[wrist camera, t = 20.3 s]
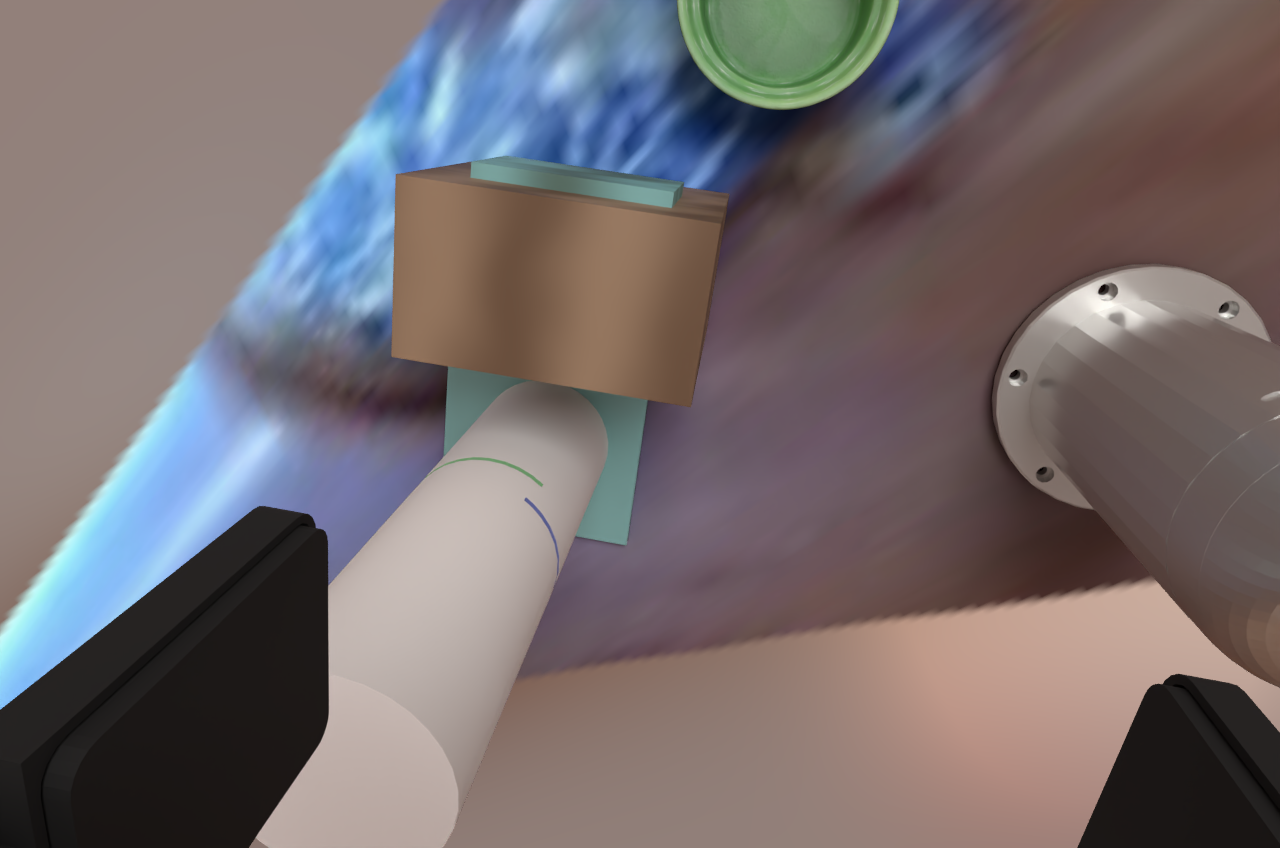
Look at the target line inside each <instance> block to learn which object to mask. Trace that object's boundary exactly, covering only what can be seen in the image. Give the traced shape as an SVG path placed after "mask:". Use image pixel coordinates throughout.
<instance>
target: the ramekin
mask: <svg viewBox="0 0 1280 848" xmlns="http://www.w3.org/2000/svg"><path fill="white" fill-rule="evenodd" d="M898 4H899V0H677V9H678V17H679V23H680V27H681V31H682V35H683V38H684V41H685V43H686V46H687V48H688V51H689V52H690V54H691V56H692V58H693V60H694V62H695V63H696V65H697V66H698V68H699V69H700V70H701V71H702V73H703V74H704V75H705V76H706V77H707V78H708V79H709V80H710V81H711V82H712V83H713V84H714V85H715V86H716V87H717V88H719V89H720V90H721V91H723V92H724V93H726V94H727V95H729V96H731V97H732V98H734V99H736V100H738V101H741V102H743V103H746V104H749V105H752V106H756V107H760V108H766V109H775V110H788V109H797V108H802V107H807V106H811V105H814V104H817V103H820V102H822V101H824V100H827V99H829V98H831V97H833V96H835V95H836V94H838V93H839V92H841V91H843V90H844V89H845V88H847V87H848V86H849V85H851V84H852V83H853V82H854V81H855V80H857V79H858V78H859V77H860V76H861V75H862V74H863V73H864V72H865V70H866V69H867V68H868V67H869V66H870V65H871V63H872V62H873V61H874V59H875V58H876V57H877V55H878V54H879V52H880V51H881V49H882V47H883V45H884V43H885V42H886V40H887V37H888V35H889V33H890V31H891V28H892V25H893V23H894V20H895V17H896V13H897V9H898Z"/></svg>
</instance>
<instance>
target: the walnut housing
mask: <svg viewBox="0 0 1280 848" xmlns="http://www.w3.org/2000/svg"><path fill="white" fill-rule="evenodd" d="M683 186H684V182H679V181H672V180H665V179H659V178H652V177H645V176H639V175H632V174H625V173H619V172H612V171H605V170H598V169H592V168H585V167H578V166H572V165H565V164H558V163H552V162H545V161H538V160H531V159H525V158H518V157H511V156H503V157H497V158H491V159H485V160H479V161H473V162H467V163H461V164H455V165H449V166H443V167H437V168H431V169H425V170H419V171H413V172H407V173H401V174H396V188H395V230H394V273H393V315H392V357H396V358H402V359H408V360H414V361H420V362H425V363H431V364H437V365H443V366H449V367H455V368H461V369H467V370H473V371H479V372H485V373H491V374H497V375H503V376H509V377H515V378H521V379H526V380H532V381H538V382H544V383H550V384H556V385H562V386H568V387H574V388H580V389H586V390H592V391H598V392H604V393H610V394H616V395H622V396H627V397H633V398H639V399H645V400H651V401H657V402H663V403H669V404H675V405H681V406H687V407H691V404H692V399H693V394H694V389H695V384H696V379H697V374H698V370H699V365H700V360H701V355H702V350H703V345H704V341H705V336H706V331H707V325H708V319H709V313H710V307H711V301H712V295H713V289H714V283H715V277H716V271H717V265H718V259H719V253H720V247H721V241H722V235H723V229H724V223H725V217H726V211H727V205H728V199H729V194H727V193H720V192H713V191H706V190H700V189H693V188H686V187H683Z"/></svg>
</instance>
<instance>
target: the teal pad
mask: <svg viewBox="0 0 1280 848" xmlns="http://www.w3.org/2000/svg"><path fill="white" fill-rule="evenodd" d="M526 381H532V380H526V379H521V378H515V377H509V376H503V375H497V374H491V373H485V372H479V371H473V370H467V369H461V368H455V367H449V366H448V380H447V400H446V420H445V440H444V456H445V455H446V454H447V453H448V452H449V450H450V449H451V448H452V447H453V446H454V445H455V444H456V443H457V441H458V440H459V439H460V438H461V437H462V436H463V435H464V434H465V432H466V431H467V430H468V429H469V428H470V427H471V426H472V425H473V424H474V422H475V421H476V420H477V419H478V418H479V417H480V416H481V415H482V413H483V412H484V411H485V410H486V409H487V408H488V407H489V406H490V404H491V403H492V402H493V401H494V400H495V399H496V398H497V397H498V396H499V395H500V394H501V393H503V392H504V391H505V390H507V389H509V388H510V387H512V386H514V385H516V384H520V383H523V382H526ZM570 388H572V389H573V390H575V391H577V392H579V393H580V394H581V395H582V396H584V397H585V398H586V399H587V400H588V401H589V402H590V403H591V404H592V405H593V406H594V407H595V409H596V410H597V412H598V413H599V415H600V417H601V418H602V420H603V423H604V426H605V428H606V432H607V438H608V455H607V458H606V462H605V465H604V468H603V470H602V473H601V475H600V478H599V480H598V482H597V485H596V487H595V490H594V492H593V494H592V497H591V499H590V501H589V504H588V506H587V509H586V511H585V513H584V516H583V518H582V521H581V523H580V525H579V528H578V530H577V533H576V535H575V536H578V537H583V538H589V539H594V540H600V541H605V542H611V543H616V544H622V545H627V541H628V535H629V528H630V521H631V514H632V508H633V501H634V494H635V487H636V480H637V473H638V466H639V459H640V452H641V445H642V439H643V432H644V425H645V418H646V411H647V404H648V400H645V399H639V398H633V397H627V396H622V395H616V394H610V393H604V392H598V391H592V390H586V389H580V388H574V387H570Z"/></svg>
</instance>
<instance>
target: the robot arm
mask: <svg viewBox="0 0 1280 848" xmlns="http://www.w3.org/2000/svg"><path fill="white" fill-rule="evenodd" d="M1103 284H1105V285H1106V287H1105V290H1104V291H1103V292H1102V293H1098V290H1099V288H1100V287H1101V285H1103ZM1222 304H1224V307H1223V308H1222V309H1221V310H1220V311H1219V308H1220V307H1221V305H1222ZM1015 370H1018V373H1017V375H1016V376H1014V377H1009V375H1010V374H1011V372H1013V371H1015ZM992 409H993V421H994V424H995V428H996V431H997V435H998V438H999V441H1000V443H1001V445H1002V446H1003V448H1004V450H1005V452H1006V454H1007V455H1008V457H1009V459H1010V460H1011V461H1012V463H1013V464H1014V465H1015V466H1016V468H1017V469H1018V470H1019V472H1020V473H1021V474H1022V475H1023V476H1024V477H1025V478H1026V479H1027V480H1028V481H1029V482H1030V483H1031V484H1032V485H1034V486H1035V487H1036V488H1038V489H1039V490H1041V491H1043V492H1044V493H1046V494H1048V495H1049V496H1051V497H1053V498H1054V499H1056V500H1059V501H1062V502H1065V503H1067V504H1070V505H1073V506H1076V507H1079V508H1085V509H1091V510H1095V511H1096V512H1097V513H1098V514H1099V515H1100V516H1101V518H1102V519H1103V520H1104V521H1105V522H1106V523H1107V524H1108V526H1109V527H1110V528H1111V529H1112V530H1113V531H1114V533H1115V534H1116V535H1117V536H1118V537H1119V538H1120V539H1121V541H1122V542H1123V543H1124V544H1125V545H1126V546H1127V547H1128V549H1129V550H1130V551H1131V552H1132V553H1133V554H1134V556H1135V557H1136V558H1137V559H1138V560H1139V561H1140V562H1141V564H1142V565H1143V566H1144V567H1145V568H1146V569H1147V570H1148V572H1149V573H1150V574H1151V575H1152V576H1153V577H1154V578H1155V580H1156V581H1157V582H1158V583H1159V584H1160V585H1161V587H1162V588H1163V589H1164V590H1165V591H1166V592H1167V593H1168V594H1169V596H1170V597H1171V598H1172V599H1173V600H1174V601H1175V603H1176V604H1177V605H1178V606H1179V607H1180V608H1181V609H1182V611H1183V612H1184V613H1185V614H1186V615H1187V616H1188V617H1189V618H1190V619H1191V620H1192V621H1193V622H1194V623H1195V625H1196V626H1197V627H1198V628H1199V629H1200V630H1201V631H1202V633H1203V634H1204V635H1205V636H1206V637H1207V638H1208V639H1209V640H1210V641H1211V642H1212V643H1213V644H1214V645H1215V646H1216V647H1217V648H1218V649H1219V650H1220V651H1221V652H1222V653H1224V654H1225V655H1226V656H1227V657H1228V658H1230V659H1231V660H1232V661H1234V662H1235V663H1236V664H1238V665H1239V666H1241V667H1242V668H1244V669H1245V670H1247V671H1248V672H1250V673H1251V674H1253V675H1255V676H1256V677H1258V678H1260V679H1262V680H1264V681H1266V682H1268V683H1270V684H1273V685H1275V686H1277V687H1279V688H1280V346H1278V345H1275V344H1273V343H1271V339H1270V337H1269V335H1268V333H1267V330H1266V328H1265V326H1264V324H1263V321H1262V319H1261V318H1260V317H1259V315H1258V314H1257V313H1256V312H1255V310H1254V309H1253V308H1252V306H1251V305H1250V304H1249V303H1248V301H1247V300H1245V299H1244V298H1243V297H1242V296H1240V295H1239V294H1238V293H1237V292H1235V291H1234V290H1233V289H1232V288H1230V287H1229V286H1228V285H1226V284H1224V283H1222V282H1220V281H1218V280H1215V279H1213V278H1211V277H1209V276H1207V275H1205V274H1202V273H1199V272H1196V271H1193V270H1190V269H1187V268H1183V267H1176V266H1170V265H1163V264H1135V265H1126V266H1122V267H1117V268H1112V269H1107V270H1103V271H1100V272H1098V273H1095V274H1093V275H1090V276H1087V277H1085V278H1082V279H1080V280H1077V281H1076V282H1074V283H1072V284H1070V285H1069V286H1067V287H1065V288H1064V289H1062V290H1060V291H1059V292H1057V293H1055V294H1053V295H1052V296H1051V297H1050V298H1049V299H1048V300H1046V301H1045V302H1044V303H1043V304H1042V305H1040V306H1039V307H1038V308H1037V309H1036V310H1034V311H1033V312H1032V313H1031V314H1030V316H1029V317H1028V318H1027V319H1026V320H1025V321H1024V323H1023V324H1022V325H1021V326H1020V327H1019V329H1018V330H1017V331H1016V332H1015V334H1014V336H1013V337H1012V339H1011V341H1010V342H1009V344H1008V346H1007V348H1006V349H1005V351H1004V353H1003V355H1002V358H1001V361H1000V363H999V366H998V369H997V372H996V374H995V380H994V386H993V393H992ZM1042 467H1044V469H1043V470H1042V471H1039V472H1037V471H1038V470H1039V469H1040V468H1042ZM328 717H329V640H328V540H327V535H326V532H325V531H324V530H322V529H317V528H316V526H315V522H314V520H313V518H312V517H311V516H310V515H309V514H304V513H299V512H294V511H288V510H283V509H277V508H272V507H266V506H259V507H257V508H255V509H253V510H252V511H251V512H249V513H248V514H247V515H246V516H244V517H243V518H242V519H241V520H239V521H238V522H237V523H236V524H234V525H233V526H232V527H230V528H229V529H228V530H227V531H225V532H224V533H223V534H222V535H220V536H219V537H218V538H217V539H215V540H214V541H213V542H212V543H210V544H209V545H208V546H207V547H205V548H204V549H203V550H201V551H200V552H199V553H198V554H196V555H195V556H194V557H193V558H191V559H190V560H189V561H188V562H186V563H185V564H184V565H183V566H181V567H180V568H179V569H177V570H176V571H175V572H174V573H172V574H171V575H170V576H169V577H167V578H166V579H165V580H164V581H162V582H161V583H160V584H159V585H157V586H156V587H155V588H154V589H152V590H151V591H150V592H148V593H147V594H146V595H145V596H143V597H142V598H141V599H140V600H138V601H137V602H136V603H135V604H133V605H132V606H131V607H130V608H128V609H127V610H126V611H124V612H123V613H122V614H121V615H119V616H118V617H117V618H116V619H114V620H113V621H112V622H111V623H109V624H108V625H107V626H106V627H104V628H103V629H102V630H100V631H99V632H98V633H97V634H95V635H94V636H93V637H92V638H90V639H89V640H88V641H87V642H85V643H84V644H83V645H82V646H80V647H79V648H78V649H77V650H75V651H74V652H73V653H71V654H70V655H69V656H68V657H66V658H65V659H64V660H63V661H61V662H60V663H59V664H58V665H56V666H55V667H54V668H53V669H51V670H50V671H49V672H47V673H46V674H45V675H44V676H42V677H41V678H40V679H39V680H37V681H36V682H35V683H34V684H32V685H31V686H30V687H29V688H27V689H26V690H25V691H24V692H22V693H21V694H20V695H18V696H17V697H16V698H15V699H13V700H12V701H11V702H10V703H8V704H7V705H6V706H5V707H3V708H2V709H1V710H0V848H249V846H250V845H251V843H252V842H253V840H254V839H255V838H256V836H257V835H258V833H259V832H260V830H261V829H262V827H263V826H264V824H265V823H266V821H267V820H268V819H269V817H270V816H271V814H272V813H273V811H274V810H275V808H276V807H277V805H278V804H279V803H280V801H281V800H282V798H283V797H284V795H285V794H286V792H287V791H288V789H289V788H290V787H291V785H292V784H293V782H294V781H295V779H296V778H297V776H298V775H299V773H300V772H301V770H302V769H303V768H304V766H305V765H306V763H307V762H308V760H309V759H310V757H311V756H312V754H313V753H314V752H315V750H316V749H317V747H318V745H319V744H320V742H321V740H322V738H323V735H324V733H325V730H326V726H327V722H328ZM1078 848H1280V732H1279V731H1278V730H1277V729H1276V728H1275V727H1274V725H1273V724H1272V723H1271V722H1270V721H1269V720H1268V718H1267V717H1266V716H1265V715H1264V714H1263V713H1262V711H1261V710H1260V709H1259V708H1258V707H1257V706H1256V704H1255V703H1254V702H1253V701H1252V700H1251V699H1250V697H1249V696H1248V695H1247V694H1246V693H1245V692H1244V691H1243V690H1242V689H1241V688H1240V687H1238V686H1237V685H1233V684H1230V683H1226V682H1220V681H1215V680H1209V679H1203V678H1198V677H1193V676H1187V675H1182V674H1175V675H1171V676H1170V677H1169V678H1168V679H1166V680H1165V681H1164V683H1163V684H1155V685H1152V686H1151V687H1150V688H1149V689H1148V690H1147V692H1146V694H1145V695H1144V698H1143V700H1142V702H1141V705H1140V707H1139V709H1138V711H1137V713H1136V716H1135V718H1134V720H1133V723H1132V725H1131V727H1130V729H1129V732H1128V734H1127V736H1126V739H1125V741H1124V743H1123V745H1122V748H1121V750H1120V752H1119V754H1118V757H1117V759H1116V761H1115V763H1114V766H1113V768H1112V770H1111V773H1110V775H1109V777H1108V780H1107V782H1106V784H1105V786H1104V788H1103V791H1102V793H1101V795H1100V798H1099V800H1098V802H1097V804H1096V807H1095V809H1094V811H1093V814H1092V816H1091V818H1090V820H1089V823H1088V825H1087V827H1086V829H1085V832H1084V834H1083V836H1082V838H1081V841H1080V843H1079V845H1078Z"/></svg>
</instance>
